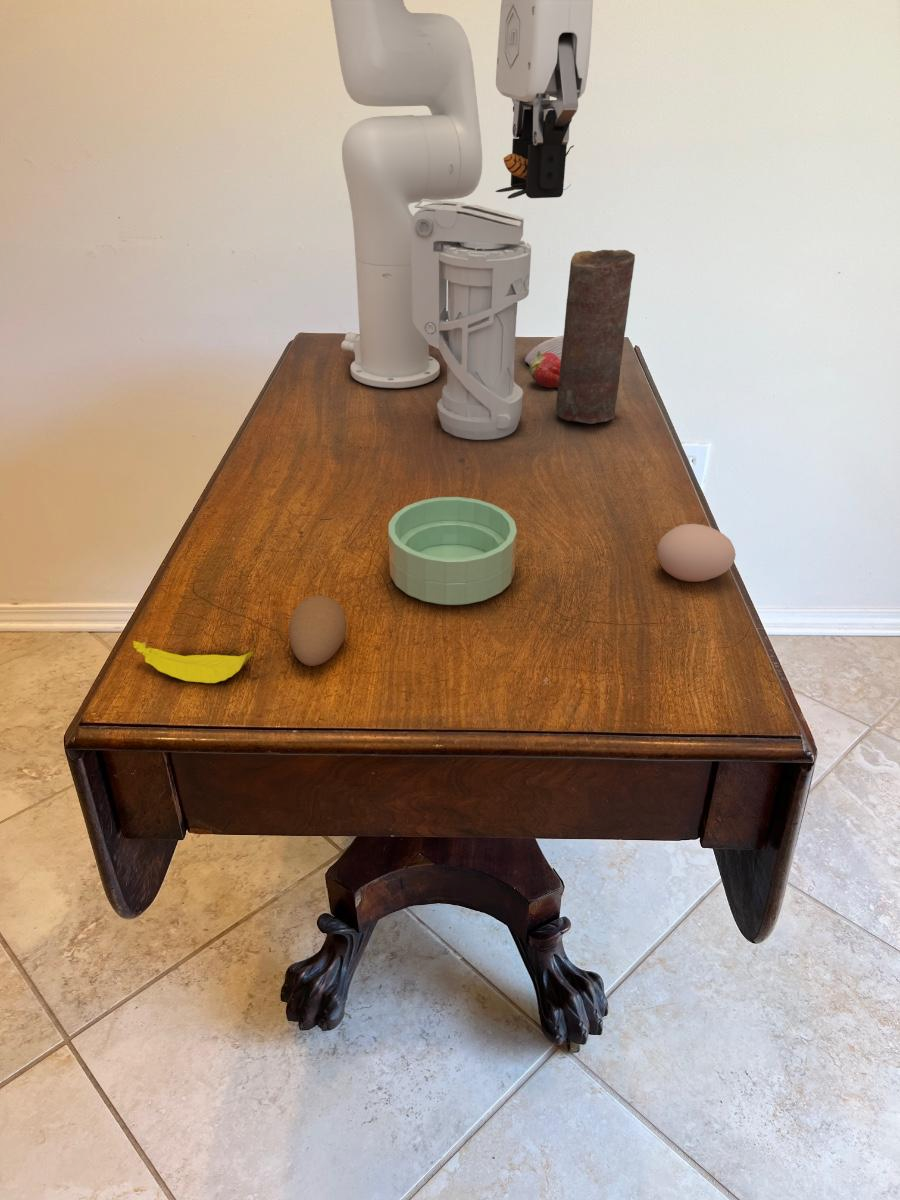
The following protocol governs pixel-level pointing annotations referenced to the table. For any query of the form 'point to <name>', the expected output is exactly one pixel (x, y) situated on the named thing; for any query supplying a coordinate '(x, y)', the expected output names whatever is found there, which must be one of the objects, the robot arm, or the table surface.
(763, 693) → the table surface
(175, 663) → the yellow banana
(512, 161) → the insect
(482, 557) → the bowl
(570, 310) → the candle
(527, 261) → the lantern
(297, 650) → the egg
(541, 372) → the fruit
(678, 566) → the egg
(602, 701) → the table surface
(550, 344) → the seashell
